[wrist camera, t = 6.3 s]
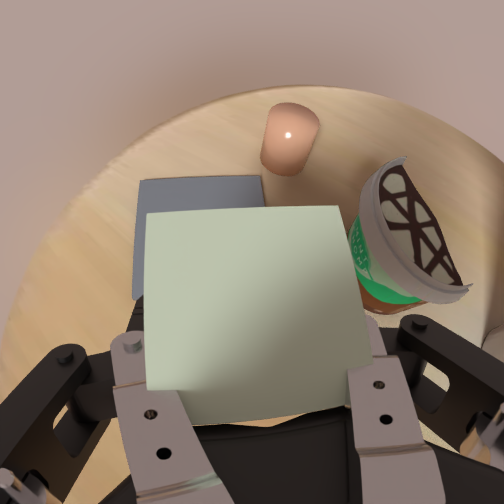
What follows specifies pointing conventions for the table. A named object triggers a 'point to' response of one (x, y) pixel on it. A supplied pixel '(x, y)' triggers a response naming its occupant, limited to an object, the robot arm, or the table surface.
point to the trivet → (188, 205)
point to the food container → (400, 247)
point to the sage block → (251, 311)
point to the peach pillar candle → (288, 138)
